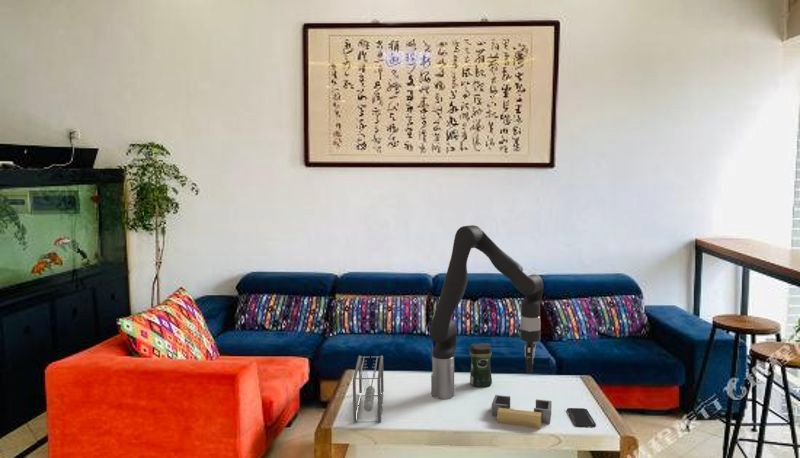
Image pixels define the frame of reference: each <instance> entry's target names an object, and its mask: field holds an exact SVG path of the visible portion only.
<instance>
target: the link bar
mask: <svg viewBox="0 0 800 458" xmlns="http://www.w3.org/2000/svg"><path fill="white" fill-rule="evenodd" d="M496 418H497V421H496V423H497V424H499V425H507V426H515V427H523V428H531V429H539V430H541V428H542V422H541V418H542V413H541V412H534V411H530V410H522V409H513V408H510V409H506V408H498V411H497V417H496Z"/></svg>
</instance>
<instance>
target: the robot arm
mask: <svg viewBox="0 0 800 458" xmlns="http://www.w3.org/2000/svg"><path fill="white" fill-rule="evenodd" d="M474 248H475V249H476V250H478V251H480V252H482V253H483V254H484V255H485V256H486V257H487V258H488V259H489V261H490V262H491V264H492V265H493V266H494V269H496V270H497V271H498V272H500V273H501V274H502V275H503V276H504V277H506V278H507V279H508V280H509V281H510V283H511V284H512V285H513V286H514V288H516V290H518V291H519V292H520V293H521V294H523V295H525V297H524V299H523V300H522V302H521V306H520V321H519V322H520V323H519V324H520V329H519V330H520V331H519V333H520V334H519V339H520V340H521V341H523V342H526V343H525V344H524V357H525V367H526V369H525V370H526V371H525V372H526V373H527V374H532V373H533V366H534V363H535V360H534V358H535V353H536V348H537V347H536V346H537V344H536V343H537V342H540V340H541V335H542V334H541V333H542V332H541V326H542V325H541V324H542V323H541V304H542V303H541V302H542V299H543V293H544V282H543V279H542V277H541V276H540V275H538V274H534V273H533V274H529V275H527V274H526V273H525V272H524V271H523V270H524V269H523V266H522V265H521V264H520V263H519V262H518V261H516V260H515V259H513V258H512V257H511V256H509V255H508V253H506V252H505V251H503V250H502V249H501V248H500V247H499V246H498V245H497V244H496V243H495V242H494V241H493V240H492V239H491V238H490V237H489V236H488V235H487V234H486V233H485V231H483V230H482V229H481V227H479V226H478V225H463V226H461V227H459V228H458V229H457V230H456V233H455V235H454V240H453V245H452V249H451V250H452V252H451V257H450V260H449V263H448V267H447V272H446V274H445V277H444V281H443V284H442V289H441V293H440V296H439V299H438V302H437V307H436V309H435V313H434V315H433V318H432V320H431V322H430V324H429V329H428V333H429V337H430V339H431V340H432V341H433V342H434V343H435V345H434V346H433V348H432V358H431V359H432V373H431V375H430V379H431V380H430V383H431V385H430V388H431V395H432V396H431V397H433V396H435V397H434V398H436V397H438V398H437V399H439V398H449V399H452V398H453V397H454V396H455V351H456V348H457V326H456V323H455V322H454V320H453V319H452V316H453V315H454V312H455V310H456V309H457V307H458V306H459V304H461V301H462V299H463V296H464V295H465V292H466V288H467V285H468V280H469V276H468V275H469V274H468V269H467V268H468V267H467V266H468V265H467V264H468V258H469V256H470V253H471V250H472V249H474ZM451 397H452V398H451Z"/></svg>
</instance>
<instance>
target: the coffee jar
mask: <svg viewBox="0 0 800 458" xmlns="http://www.w3.org/2000/svg"><path fill="white" fill-rule="evenodd" d="M469 348H470V349H469V355H470V357H471V358H470V359H471V362H470V363H471V364H470V366H471V367H470V375H469V383H470V385H471V386H473V387H476V388H477V387H478V388H479V387H480V388H481V387H482V388H483V387H490V386H492V384H493V378H492V370H491V369H492V368H491V356H492V355H493V354H492V346H491V345H490V343H489V342H485V343H471V344H470V345H469Z"/></svg>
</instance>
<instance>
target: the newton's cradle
mask: <svg viewBox="0 0 800 458" xmlns="http://www.w3.org/2000/svg"><path fill="white" fill-rule="evenodd" d="M365 358H366V359H367V358H369V356H361V355H358V357H357V361H356V365H355V369H354V372H353V373H354V374H353V378H352V406H353V409H352V410H353V411H352V413H353V422H354V421H357V420H358V419H357V420H356V408H357V386H356V385H357V384H356V383H357V381H356V380H358V382H359V383H358V386H359V387H358V389H359V390H358V394H359V393H362V394H363V389H364V392H365V393H364V394H365V395H364V396H365V397H364V401H363V409H364V411H366V412H370V411H372V410H373V407H374V400H375V395H374V394H376V393H375V392H376V389H375V387H374V386H373V382H374V380H377V382H376V383H377V387H376V388H377V394H378V395H377V420H378V421H377V422H378V423H381V422H382V417H381V415H383V406H382V404H384V395H383V392H384V391H385V389H384V388H385V386H384V356H383V355H380V356H373V355H372V358H375V359H376V360H375V361H374V366H373V370H367V366H365V365H366V363H365V362H366V361H365ZM378 359H379V364H378ZM377 365H378V373H377V372H376V371H377ZM368 371H369V372H370V371H371V372H373V373H372V377H368V375H367V374H368ZM376 373H377V377H376ZM357 376H358V377H357ZM369 380H371V384H369V383H370V381H369ZM363 386H364V388H363ZM381 393H382V394H381ZM358 406H359V405H358ZM357 422H358V421H357Z"/></svg>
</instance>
